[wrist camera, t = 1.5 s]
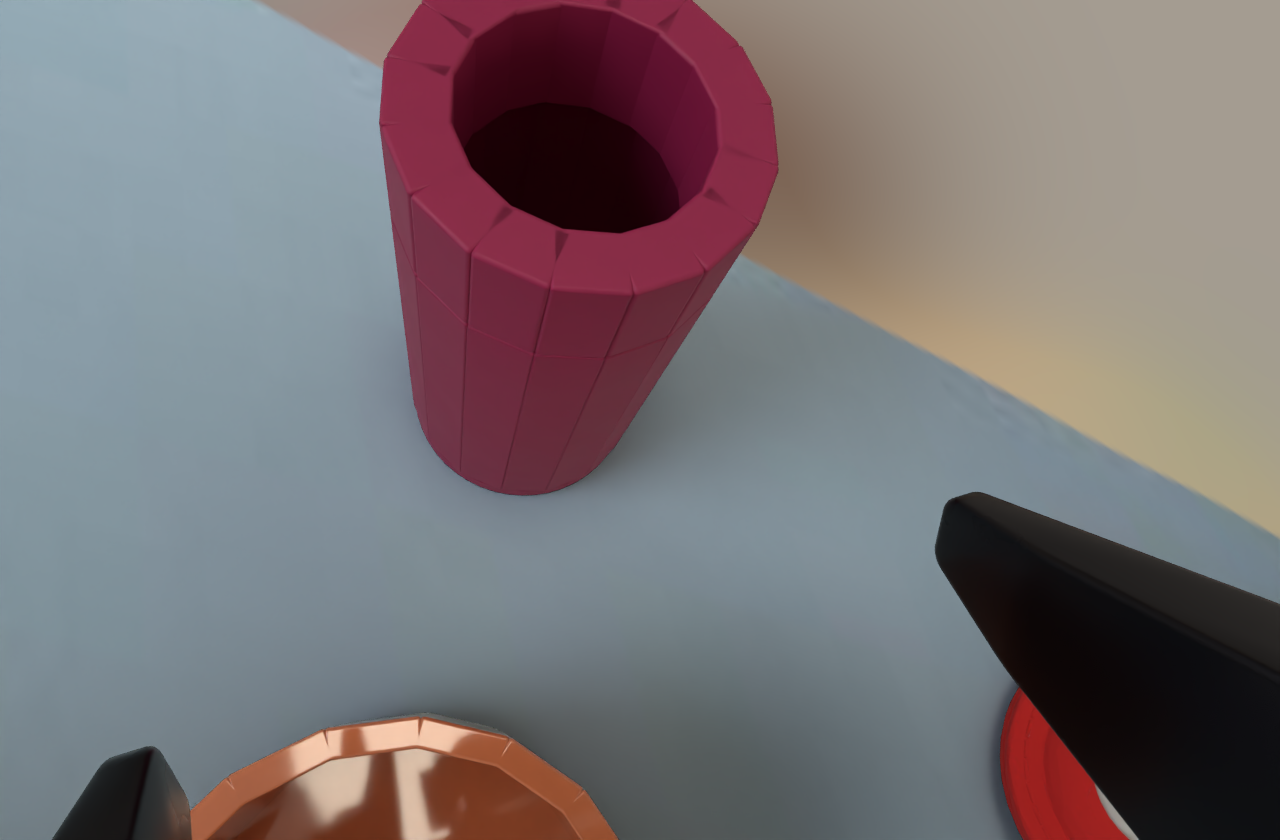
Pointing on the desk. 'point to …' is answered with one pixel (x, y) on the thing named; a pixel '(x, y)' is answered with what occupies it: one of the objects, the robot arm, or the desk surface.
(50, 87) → the desk surface
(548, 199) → the crimson hollow cylinder
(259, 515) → the desk surface
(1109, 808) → the tracker holder
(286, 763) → the pot
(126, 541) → the desk surface
